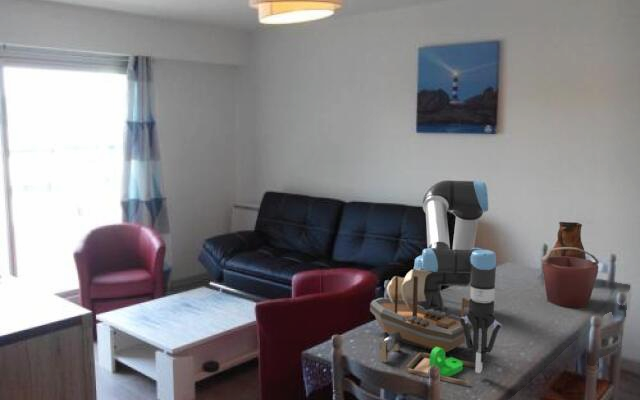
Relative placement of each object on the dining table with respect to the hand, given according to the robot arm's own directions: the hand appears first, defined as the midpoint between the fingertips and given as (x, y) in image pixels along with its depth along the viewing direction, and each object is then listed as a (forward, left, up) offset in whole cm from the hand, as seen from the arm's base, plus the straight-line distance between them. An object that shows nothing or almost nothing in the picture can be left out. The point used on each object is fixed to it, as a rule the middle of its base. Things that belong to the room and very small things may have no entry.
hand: (478, 370), depth 183 cm
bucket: (+15, +98, -3) cm, 99 cm away
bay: (-12, 0, -2) cm, 12 cm away
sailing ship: (-25, +19, -3) cm, 31 cm away
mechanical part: (-10, 0, -2) cm, 10 cm away
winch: (-31, +2, -2) cm, 31 cm away
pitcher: (+11, +133, -3) cm, 134 cm away
